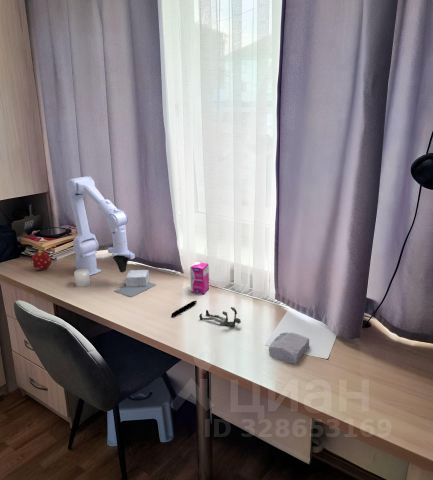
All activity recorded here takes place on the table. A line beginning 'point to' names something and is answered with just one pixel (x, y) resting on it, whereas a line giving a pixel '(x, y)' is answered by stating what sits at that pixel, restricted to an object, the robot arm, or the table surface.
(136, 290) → the felt mat
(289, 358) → the stone block
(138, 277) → the medicine box
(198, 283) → the supplement box
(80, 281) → the white round lump
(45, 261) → the christmas ornament
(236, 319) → the zombie figurine
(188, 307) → the pen
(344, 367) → the table surface
